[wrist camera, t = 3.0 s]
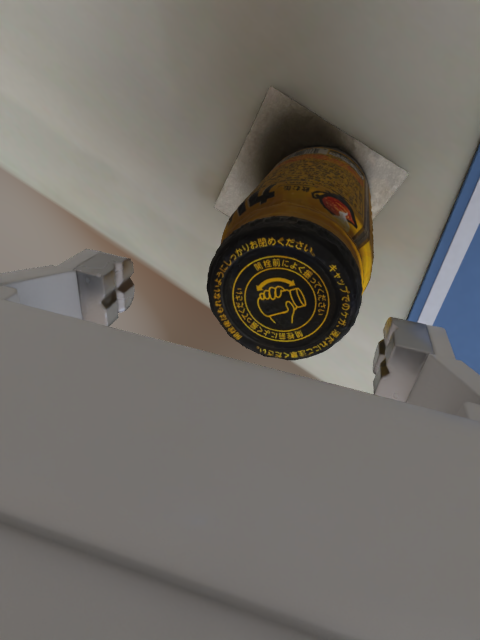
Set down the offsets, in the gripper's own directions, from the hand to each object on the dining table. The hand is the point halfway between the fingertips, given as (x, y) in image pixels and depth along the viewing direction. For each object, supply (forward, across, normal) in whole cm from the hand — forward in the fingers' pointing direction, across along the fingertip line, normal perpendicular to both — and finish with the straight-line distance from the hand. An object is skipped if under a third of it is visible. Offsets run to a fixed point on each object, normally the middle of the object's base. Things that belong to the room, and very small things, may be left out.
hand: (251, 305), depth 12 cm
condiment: (+13, 0, -1) cm, 13 cm away
